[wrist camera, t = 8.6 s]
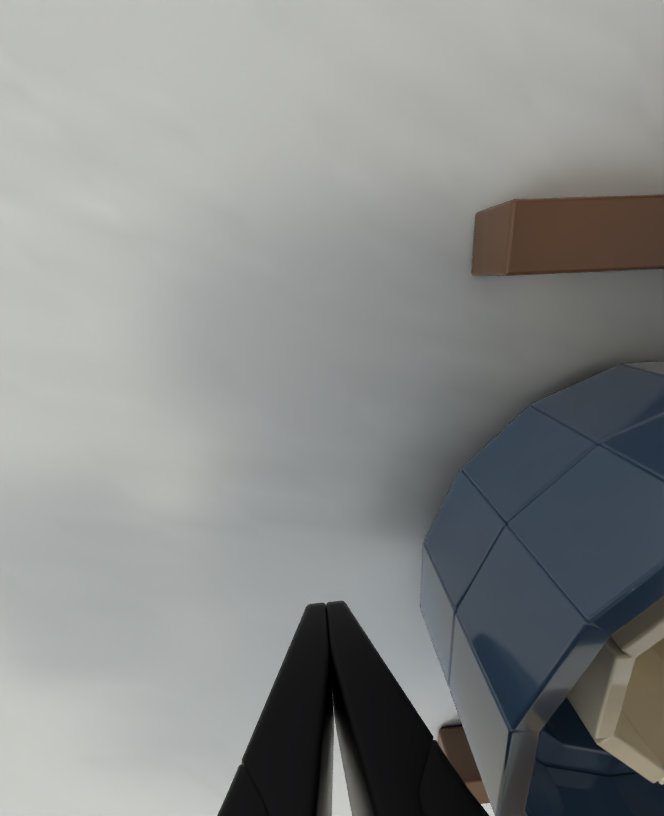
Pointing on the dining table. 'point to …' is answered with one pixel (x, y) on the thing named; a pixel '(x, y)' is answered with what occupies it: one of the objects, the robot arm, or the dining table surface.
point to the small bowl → (628, 694)
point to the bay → (547, 254)
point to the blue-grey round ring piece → (550, 587)
